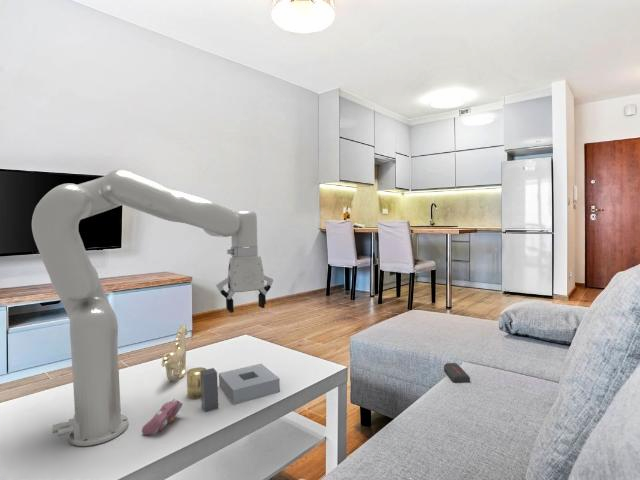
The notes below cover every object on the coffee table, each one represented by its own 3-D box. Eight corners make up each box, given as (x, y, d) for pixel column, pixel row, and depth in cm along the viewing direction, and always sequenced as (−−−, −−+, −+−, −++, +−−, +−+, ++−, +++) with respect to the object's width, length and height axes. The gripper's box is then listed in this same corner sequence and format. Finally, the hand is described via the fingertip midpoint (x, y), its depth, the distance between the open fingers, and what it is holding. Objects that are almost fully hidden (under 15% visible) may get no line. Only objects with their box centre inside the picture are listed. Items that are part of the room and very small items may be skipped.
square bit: (205, 412, 100) (203, 375, 99) (201, 406, 103) (200, 370, 102) (218, 408, 101) (217, 372, 101) (214, 403, 105) (213, 367, 104)
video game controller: (154, 443, 88) (165, 419, 88) (138, 433, 89) (149, 409, 88) (178, 421, 98) (188, 399, 97) (163, 412, 99) (173, 390, 98)
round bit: (189, 400, 106) (188, 376, 106) (185, 393, 111) (184, 370, 111) (209, 395, 109) (208, 372, 109) (204, 388, 114) (203, 366, 114)
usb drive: (453, 384, 114) (453, 375, 114) (440, 368, 126) (440, 360, 126) (470, 384, 114) (470, 375, 114) (456, 368, 126) (456, 360, 126)
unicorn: (170, 392, 111) (168, 336, 111) (157, 393, 111) (155, 336, 111) (193, 366, 131) (191, 318, 131) (182, 367, 131) (180, 318, 131)
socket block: (233, 404, 103) (233, 390, 103) (219, 385, 115) (218, 373, 115) (279, 391, 111) (279, 378, 110) (261, 375, 123) (261, 363, 122)
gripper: (219, 255, 103) (221, 316, 104) (276, 251, 112) (278, 308, 113) (212, 253, 110) (214, 311, 111) (266, 250, 119) (268, 303, 120)
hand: (246, 309), depth 112 cm, fingers open, 9 cm apart
